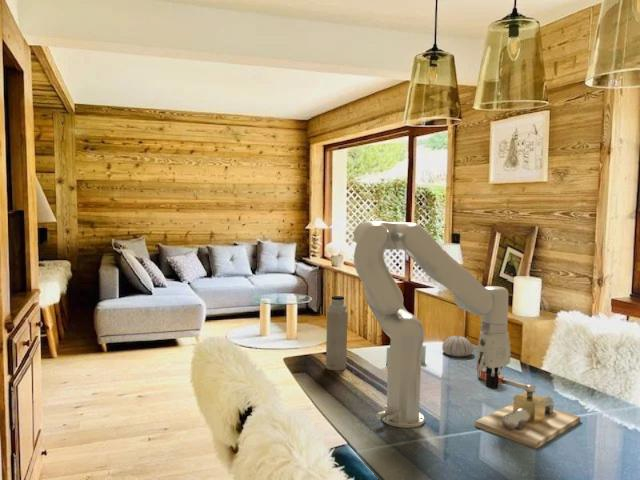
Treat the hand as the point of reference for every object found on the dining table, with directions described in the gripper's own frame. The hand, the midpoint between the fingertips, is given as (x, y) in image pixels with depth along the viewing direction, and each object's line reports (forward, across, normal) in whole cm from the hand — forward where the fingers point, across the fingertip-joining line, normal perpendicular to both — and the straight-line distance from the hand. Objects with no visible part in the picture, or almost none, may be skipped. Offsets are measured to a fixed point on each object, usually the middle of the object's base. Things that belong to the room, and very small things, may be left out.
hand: (492, 387), depth 153 cm
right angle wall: (+10, +14, +54) cm, 56 cm away
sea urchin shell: (+9, +44, +54) cm, 70 cm away
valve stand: (+9, +5, -9) cm, 14 cm away
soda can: (+9, +28, +25) cm, 39 cm away
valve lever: (-1, +4, -3) cm, 5 cm away
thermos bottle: (+9, -15, +63) cm, 65 cm away
